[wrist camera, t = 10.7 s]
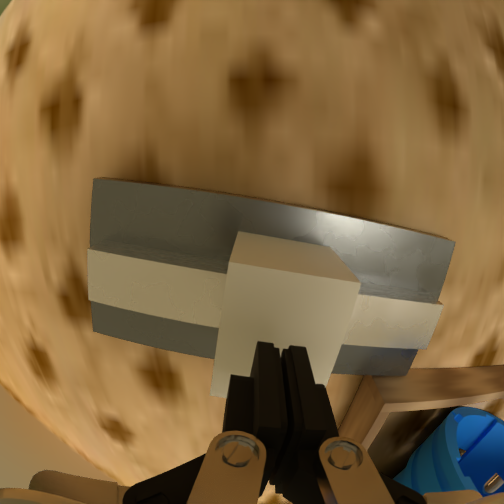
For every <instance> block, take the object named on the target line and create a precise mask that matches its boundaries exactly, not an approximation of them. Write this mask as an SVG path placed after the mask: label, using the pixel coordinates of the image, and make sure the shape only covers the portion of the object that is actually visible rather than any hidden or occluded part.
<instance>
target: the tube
mask: <svg viewBox="0 0 504 504" xmlns="http://www.w3.org/2000/svg"><path fill="white" fill-rule="evenodd" d="M459 448H460V449H463V450H465V451H466V452H465V453H464V454H463V455H462V456H460V452H459ZM496 473H497V474H498V475H499V476H500V477H501V478H502V480H503V481H504V421H503V420H501V419H499V418H498V417H496V416H494V415H492V414H490V413H488V412H486V411H483V410H480V409H477V408H472V407H459V408H456V409H454V410H453V411H452V412H451V413H450V414H449V415H448V416H447V417H446V418H445V419H444V421H443V422H442V423H441V424H440V425H439V426H438V427H437V428H436V430H435V431H434V432H433V433H432V434H431V435H430V436H429V437H428V438H427V439H426V440H425V442H424V443H422V444H421V445H420V446H419V447H418V448H417V449H416V450H415V451H414V452H413V454H412V455H411V457H410V458H409V460H408V463H407V466H406V468H405V469H403V470H402V471H401V472H400V473H399V474H398V475H397V476H395V477H394V478H393V480H395V481H397V482H399V483H401V484H403V485H405V486H407V487H409V488H411V489H413V490H415V491H417V492H418V493H420V494H421V495H422V496H423V495H424V494H425V493H431V492H448V491H460V490H475V491H477V492H479V493H480V494H481V495H482V497H486V496H489V495H492V494H496V493H500V492H504V483H503V484H502V485H501V486H500V487H499V488H498V489H497V490H496V491H494V492H493V493H487V492H486V491H485V489H484V486H485V483H486V482H487V481H488V480H489V479H490V478H491V477H492V476H494V475H495V474H496Z"/></svg>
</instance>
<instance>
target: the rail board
mask: <svg viewBox="0 0 504 504" xmlns="http://www.w3.org/2000/svg"><path fill="white" fill-rule="evenodd" d="M238 231H241V232H247V233H253V234H258V235H264V236H270V237H276V238H282V239H287V240H293V241H299V242H304V243H310V244H316V245H321V246H327V247H331V249H332V250H333V251H334V252H335V253H336V254H337V255H338V257H339V258H340V259H341V260H342V261H343V262H344V264H345V265H346V266H347V267H348V268H349V269H350V271H351V272H352V273H353V274H354V275H355V276H356V278H357V279H358V280H359V281H360V282H361V286H360V289H359V293H358V296H357V299H356V302H355V306H354V309H353V312H352V315H351V318H350V321H349V324H348V327H347V330H346V333H345V336H344V339H343V342H342V345H341V348H340V351H339V353H338V356H337V359H336V362H335V364H334V367H333V370H332V372H331V373H335V374H352V375H380V376H406V375H407V373H408V371H409V369H410V367H411V365H412V362H413V360H414V358H415V356H416V354H417V351H418V349H427V346H428V344H429V342H430V339H431V337H432V335H433V332H434V330H435V327H436V325H437V322H438V320H439V317H440V315H441V312H442V309H443V307H444V305H443V304H442V303H441V302H440V301H438V298H439V295H440V292H441V289H442V286H443V283H444V280H445V277H446V274H447V271H448V267H449V264H450V260H451V257H452V253H453V250H454V246H455V242H454V241H452V240H450V239H448V238H445V237H442V236H438V235H434V234H430V233H426V232H422V231H418V230H413V229H409V228H405V227H401V226H396V225H392V224H388V223H383V222H379V221H374V220H370V219H365V218H361V217H356V216H351V215H346V214H342V213H337V212H332V211H327V210H322V209H317V208H311V207H306V206H301V205H295V204H290V203H284V202H279V201H273V200H267V199H261V198H255V197H249V196H243V195H237V194H230V193H224V192H217V191H211V190H204V189H197V188H189V187H182V186H174V185H167V184H159V183H150V182H142V181H133V180H124V179H114V178H104V177H102V178H94V179H93V191H92V205H91V224H90V248H88V249H87V270H88V298H89V300H90V301H91V309H92V323H93V331H94V332H97V333H101V334H104V335H108V336H112V337H115V338H119V339H123V340H127V341H131V342H135V343H139V344H143V345H147V346H152V347H156V348H160V349H165V350H170V351H174V352H179V353H184V354H189V355H194V356H200V357H205V358H211V359H215V353H216V346H217V338H218V331H219V324H220V317H221V311H222V304H223V297H224V291H225V284H226V277H227V271H228V264H229V260H230V256H231V253H232V250H233V247H234V243H235V240H236V237H237V234H238Z"/></svg>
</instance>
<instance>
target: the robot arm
mask: <svg viewBox="0 0 504 504" xmlns="http://www.w3.org/2000/svg"><path fill="white" fill-rule="evenodd" d="M268 480H269V483H270V485H275V493H278V494H283V497H284V498H286V499H287V500H288V501H290V502H289V504H504V492H500V493H496V494H492V495H489V496H486V497H482V495H481V494H480V493H479V492H477V491H475V490H460V491H448V492H431V493H425V494H424V495H423V496H422V495H421V494H420V493H418V492H417V491H415V490H413V489H411V488H409V487H407V486H405V485H403V484H401V483H399V482H397V481H395V480H393V479H391V478H389V477H387V476H386V475H384V474H382V473H380V472H378V471H377V469H376V467H375V465H374V463H373V462H372V460H371V458H370V456H369V454H368V452H367V451H366V449H365V448H364V447H363V445H361V444H360V443H359V442H357V441H355V440H353V439H351V438H347V437H339V433H338V430H337V426H336V422H335V419H334V415H333V412H332V408H331V405H330V401H329V398H328V394H327V391H326V388H325V385H323V384H315V380H314V376H313V372H312V368H311V364H310V361H309V357H308V353H307V349H306V347H303V346H294V345H290V346H289V347H288V349H285V348H283V350H282V353H281V357H280V350H279V348H276V347H274V343H270V342H262V341H257V345H256V349H255V354H254V359H253V364H252V368H251V373H250V377H247V376H240V375H233V374H231V375H230V381H229V387H228V393H227V399H226V406H225V413H224V422H223V430H222V433H220V434H218V435H217V436H216V437H214V438H213V440H212V441H211V443H210V445H209V447H208V450H207V453H206V454H204V455H202V456H199V457H197V458H195V459H193V460H191V461H189V462H187V463H185V464H182V465H180V466H178V467H176V468H174V469H171V470H169V471H167V472H164V473H162V474H159V475H157V476H155V477H152V478H150V479H147V480H145V481H142V482H139V483H137V484H135V485H133V486H131V487H128V486H119V485H118V483H117V482H110V481H103V480H97V479H90V478H85V477H80V476H75V475H71V474H66V473H62V472H58V471H53V470H44V471H40V472H38V473H36V474H35V475H34V476H33V477H32V479H31V481H30V485H29V489H21V488H0V504H257V502H258V498H259V497H260V496H262V494H263V491H264V489H265V487H266V485H267V482H268Z"/></svg>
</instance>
